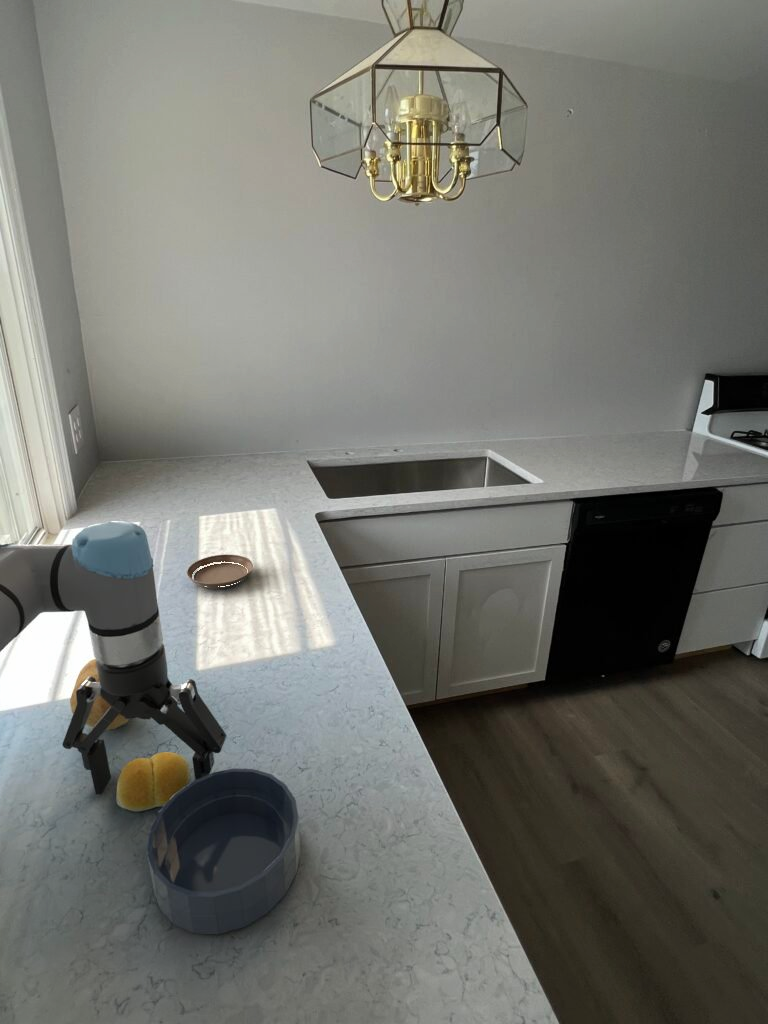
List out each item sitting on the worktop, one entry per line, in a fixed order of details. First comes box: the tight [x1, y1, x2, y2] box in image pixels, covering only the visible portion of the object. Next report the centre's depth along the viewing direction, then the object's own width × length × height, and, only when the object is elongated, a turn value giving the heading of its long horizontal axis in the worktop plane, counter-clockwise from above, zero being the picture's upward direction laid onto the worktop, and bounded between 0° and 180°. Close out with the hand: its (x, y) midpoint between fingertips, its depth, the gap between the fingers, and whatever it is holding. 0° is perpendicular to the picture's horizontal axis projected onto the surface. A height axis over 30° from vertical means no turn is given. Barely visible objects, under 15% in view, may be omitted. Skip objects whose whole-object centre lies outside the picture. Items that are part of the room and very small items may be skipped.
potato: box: [69, 658, 131, 731], centre depth 84 cm, size 10×14×8 cm
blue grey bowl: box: [146, 767, 301, 935], centre depth 63 cm, size 16×16×6 cm
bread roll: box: [115, 751, 191, 813], centre depth 73 cm, size 8×9×4 cm
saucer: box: [186, 553, 254, 590], centre depth 129 cm, size 15×15×3 cm
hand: (153, 787), depth 73 cm, fingers open, 13 cm apart
